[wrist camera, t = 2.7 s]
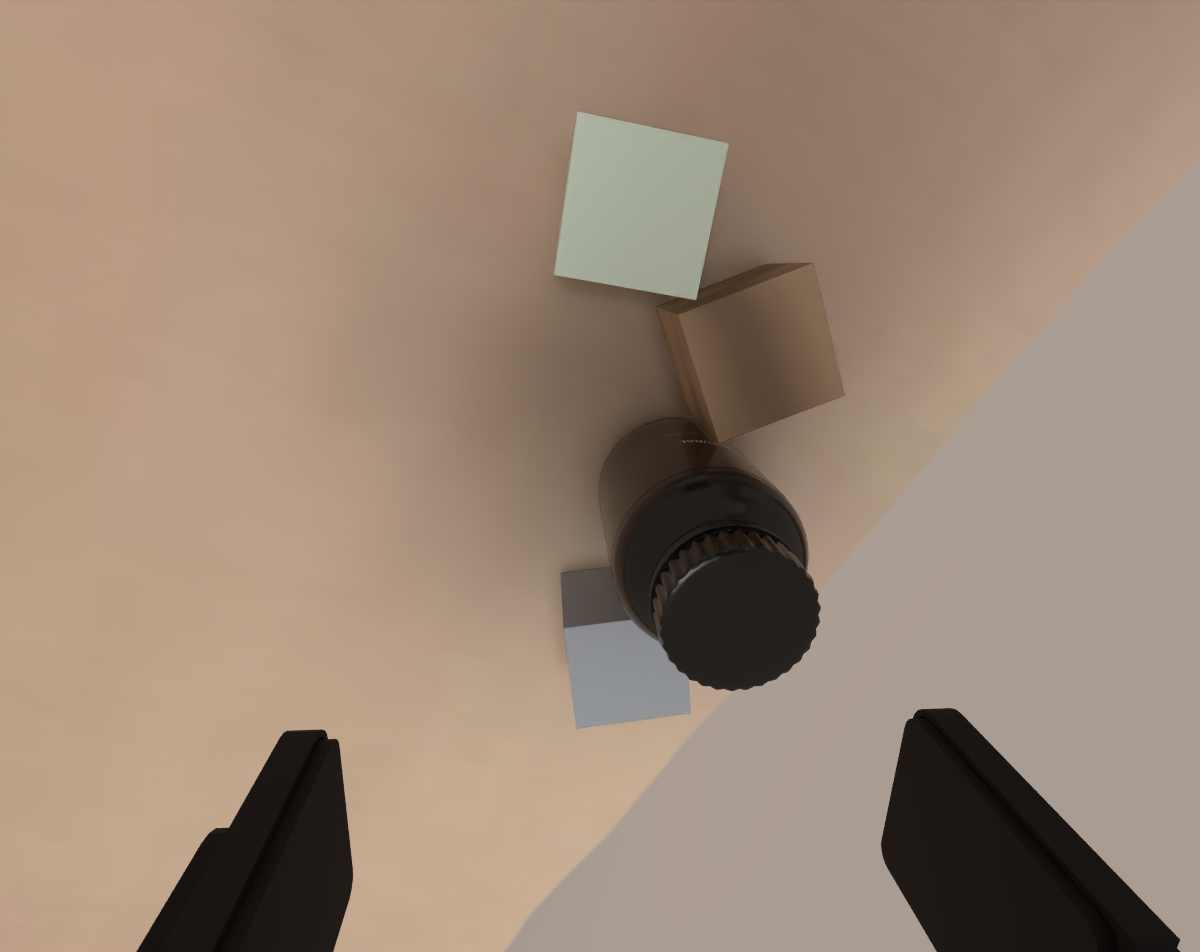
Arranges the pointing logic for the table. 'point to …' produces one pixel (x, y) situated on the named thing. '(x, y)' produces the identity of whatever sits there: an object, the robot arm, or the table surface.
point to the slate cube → (614, 657)
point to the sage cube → (638, 206)
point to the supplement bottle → (707, 556)
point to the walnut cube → (752, 349)
